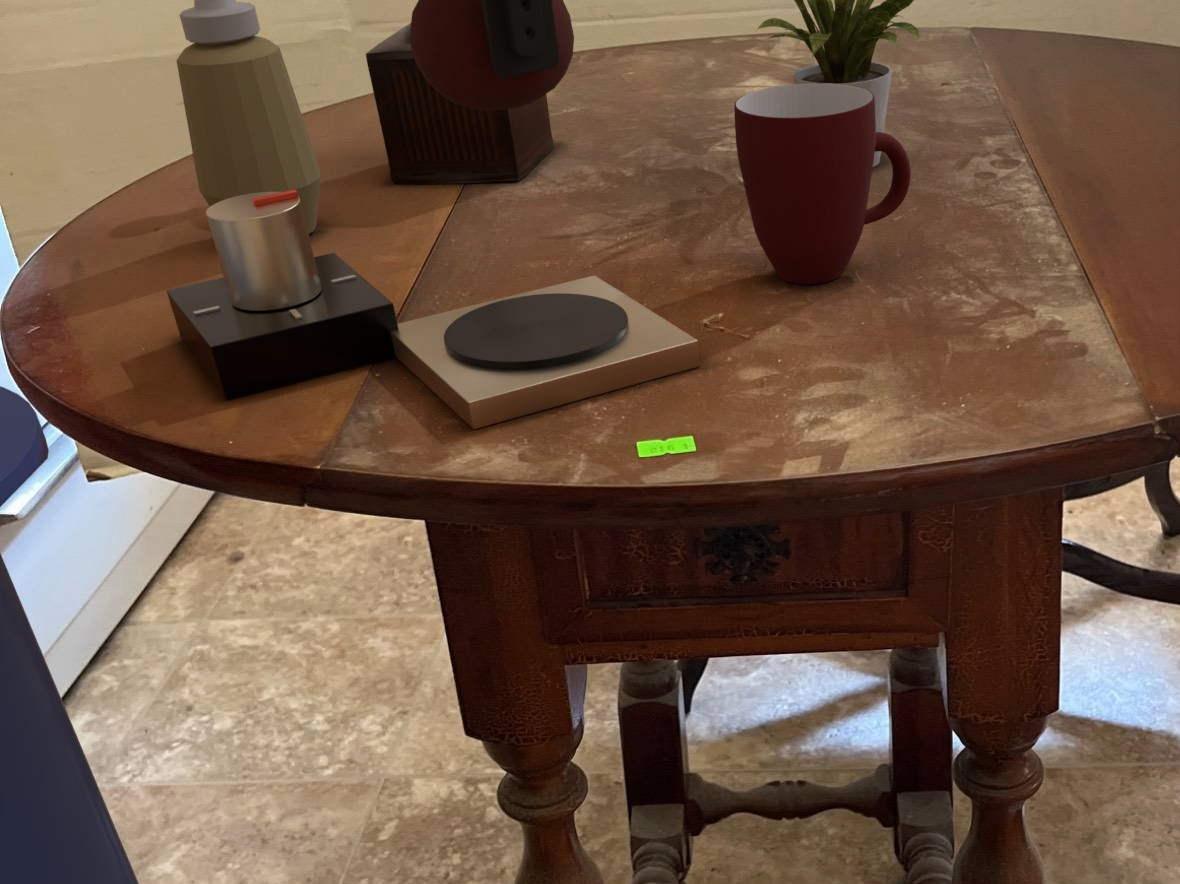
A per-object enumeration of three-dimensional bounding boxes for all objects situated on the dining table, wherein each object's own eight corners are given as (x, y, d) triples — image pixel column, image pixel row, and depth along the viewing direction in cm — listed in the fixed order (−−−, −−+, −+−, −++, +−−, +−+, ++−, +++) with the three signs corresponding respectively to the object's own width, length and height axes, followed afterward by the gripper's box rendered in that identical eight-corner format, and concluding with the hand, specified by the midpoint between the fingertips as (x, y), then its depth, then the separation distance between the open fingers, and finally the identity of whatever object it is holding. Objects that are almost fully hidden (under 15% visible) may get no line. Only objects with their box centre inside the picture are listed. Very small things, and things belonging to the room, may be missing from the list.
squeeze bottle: (197, 256, 99) (112, -41, 89) (236, 219, 106) (161, -62, 95) (314, 251, 99) (242, -49, 88) (346, 214, 105) (283, -70, 95)
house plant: (731, 200, 103) (712, -63, 93) (731, 146, 114) (715, -94, 104) (935, 187, 102) (938, -79, 93) (916, 134, 113) (916, -108, 104)
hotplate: (473, 430, 74) (466, 394, 73) (390, 352, 83) (383, 319, 82) (700, 366, 79) (697, 332, 78) (597, 299, 88) (593, 268, 87)
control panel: (226, 400, 79) (209, 343, 77) (181, 339, 87) (165, 287, 85) (404, 355, 83) (392, 300, 81) (345, 301, 90) (333, 249, 89)
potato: (389, 122, 72) (357, -36, 68) (504, 83, 78) (482, -66, 74) (500, 137, 69) (474, -29, 65) (613, 95, 74) (596, -61, 70)
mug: (866, 235, 95) (863, 69, 89) (937, 268, 89) (939, 93, 83) (721, 270, 91) (708, 99, 85) (786, 307, 85) (777, 126, 79)
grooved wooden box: (560, 142, 118) (525, -116, 107) (521, 182, 109) (478, -93, 98) (378, 145, 120) (326, -106, 110) (325, 186, 112) (262, -83, 101)
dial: (243, 318, 80) (216, 220, 77) (221, 293, 84) (194, 198, 81) (332, 297, 82) (309, 200, 79) (307, 273, 86) (284, 180, 82)
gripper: (278, -380, 66) (364, 43, 77) (406, -405, 54) (488, 103, 64) (435, -389, 69) (498, 20, 80) (591, -415, 57) (641, 74, 67)
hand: (493, 55), depth 72 cm, fingers closed on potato, 7 cm apart
